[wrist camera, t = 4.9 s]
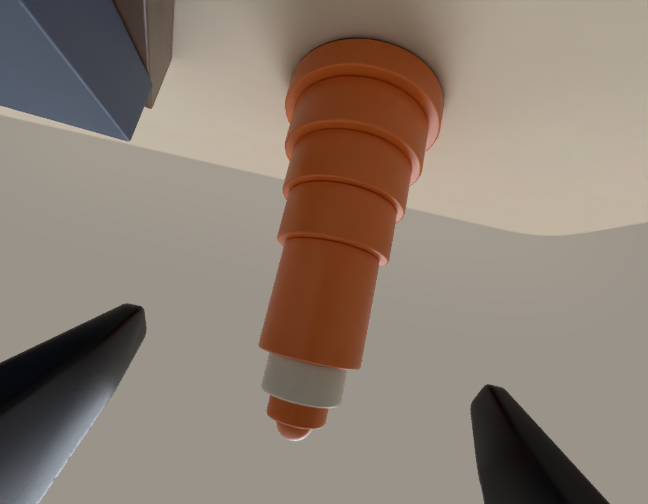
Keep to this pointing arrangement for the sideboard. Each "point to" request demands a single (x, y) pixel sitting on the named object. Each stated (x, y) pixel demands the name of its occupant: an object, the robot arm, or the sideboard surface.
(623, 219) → the sideboard surface
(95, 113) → the top block
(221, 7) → the sideboard surface
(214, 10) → the sideboard surface
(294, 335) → the cone
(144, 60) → the base block
